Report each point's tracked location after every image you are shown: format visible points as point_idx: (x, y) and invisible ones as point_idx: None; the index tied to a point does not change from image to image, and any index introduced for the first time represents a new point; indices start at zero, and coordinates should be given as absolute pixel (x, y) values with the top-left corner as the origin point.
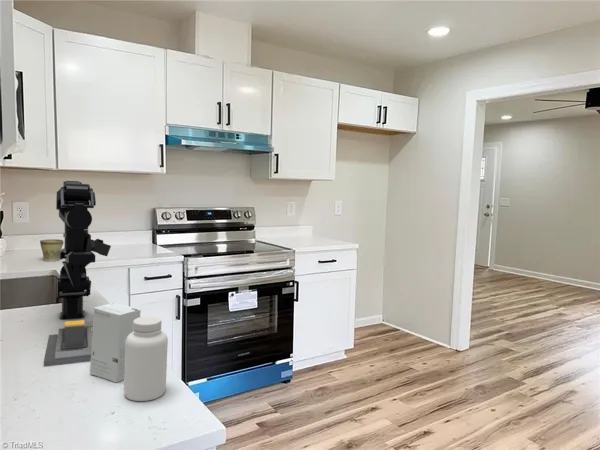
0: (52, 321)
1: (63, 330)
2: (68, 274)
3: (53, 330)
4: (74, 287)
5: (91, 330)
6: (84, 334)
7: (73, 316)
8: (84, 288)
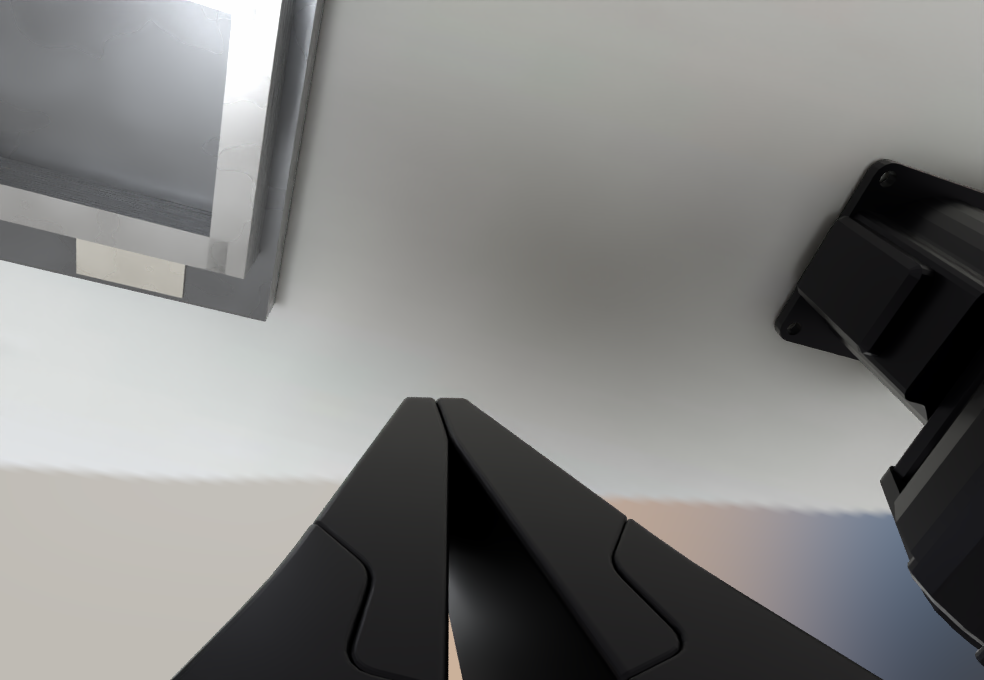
0: (883, 83)
1: (237, 18)
2: (530, 546)
3: (608, 12)
4: (406, 405)
5: (95, 242)
6: (207, 189)
7: (810, 262)
8: (898, 516)
